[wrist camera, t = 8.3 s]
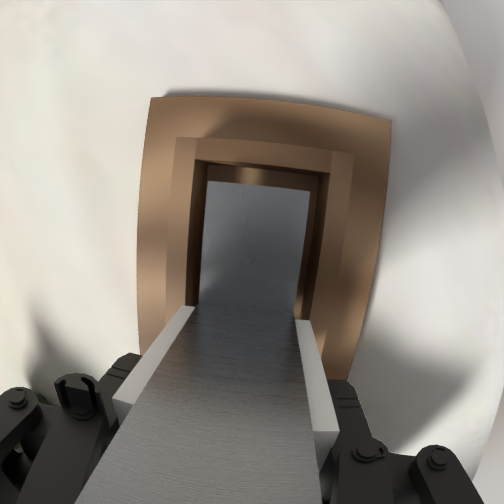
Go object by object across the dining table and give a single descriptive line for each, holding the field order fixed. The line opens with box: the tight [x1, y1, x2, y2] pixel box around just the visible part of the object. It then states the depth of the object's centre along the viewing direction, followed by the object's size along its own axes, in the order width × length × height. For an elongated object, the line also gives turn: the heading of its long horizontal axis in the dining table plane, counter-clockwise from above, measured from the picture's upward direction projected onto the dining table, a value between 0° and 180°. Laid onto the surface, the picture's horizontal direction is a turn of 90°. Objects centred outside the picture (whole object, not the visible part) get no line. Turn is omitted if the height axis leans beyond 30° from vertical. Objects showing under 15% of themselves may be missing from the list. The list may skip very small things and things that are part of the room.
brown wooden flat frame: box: [137, 96, 391, 380], centre depth 15 cm, size 18×14×4 cm
